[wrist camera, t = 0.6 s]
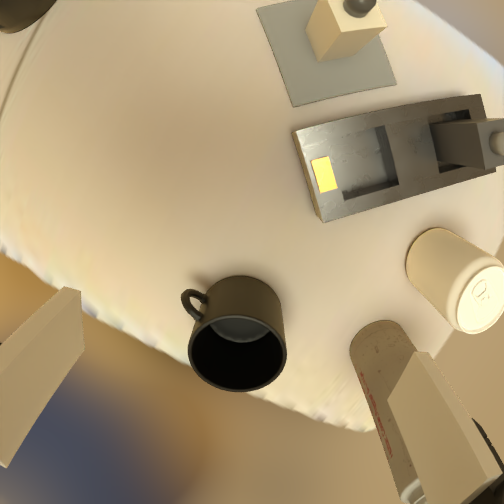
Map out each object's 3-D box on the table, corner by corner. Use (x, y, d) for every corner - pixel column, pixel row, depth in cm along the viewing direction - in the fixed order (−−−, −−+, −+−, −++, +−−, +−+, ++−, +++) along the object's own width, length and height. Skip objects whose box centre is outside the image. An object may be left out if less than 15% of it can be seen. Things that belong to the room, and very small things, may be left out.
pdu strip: (316, 214, 34) (324, 224, 29) (291, 132, 31) (296, 130, 27) (476, 167, 31) (499, 172, 27) (461, 96, 28) (483, 93, 24)
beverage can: (420, 300, 37) (466, 352, 26) (392, 255, 35) (441, 301, 24) (464, 261, 35) (519, 301, 24) (441, 213, 33) (502, 243, 22)
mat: (256, 10, 27) (256, 8, 26) (358, -8, 25) (358, -9, 25) (293, 107, 30) (293, 106, 30) (395, 84, 29) (396, 84, 28)
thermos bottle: (353, 375, 41) (410, 557, 14) (345, 330, 38) (421, 537, 12) (405, 357, 40) (489, 520, 13) (402, 312, 37) (517, 487, 11)
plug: (304, 30, 27) (327, -21, 16) (339, 23, 26) (376, -25, 15) (317, 62, 28) (348, 23, 17) (352, 56, 28) (397, 18, 16)
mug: (215, 244, 35) (202, 277, 26) (297, 306, 37) (307, 351, 29) (169, 302, 38) (147, 345, 29) (247, 355, 40) (244, 405, 31)
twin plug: (423, 125, 29) (490, 123, 18) (450, 119, 29) (519, 118, 17) (431, 160, 30) (499, 172, 19) (457, 153, 30) (527, 164, 18)
